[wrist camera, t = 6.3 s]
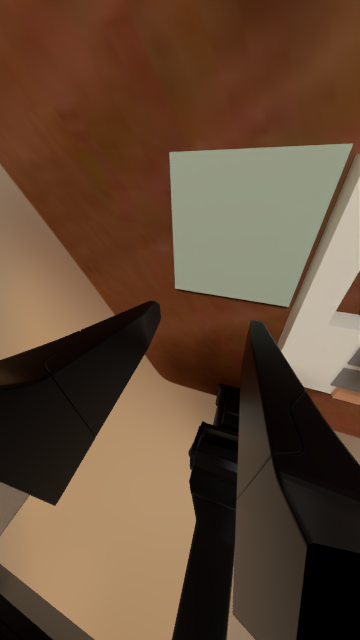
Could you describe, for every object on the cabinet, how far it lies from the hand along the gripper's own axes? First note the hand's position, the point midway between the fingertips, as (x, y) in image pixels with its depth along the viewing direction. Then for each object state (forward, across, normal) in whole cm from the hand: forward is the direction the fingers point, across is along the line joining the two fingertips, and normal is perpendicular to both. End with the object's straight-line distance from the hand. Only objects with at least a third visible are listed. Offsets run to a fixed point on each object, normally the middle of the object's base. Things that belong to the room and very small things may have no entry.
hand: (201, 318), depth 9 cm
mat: (+12, 0, 0) cm, 13 cm away
